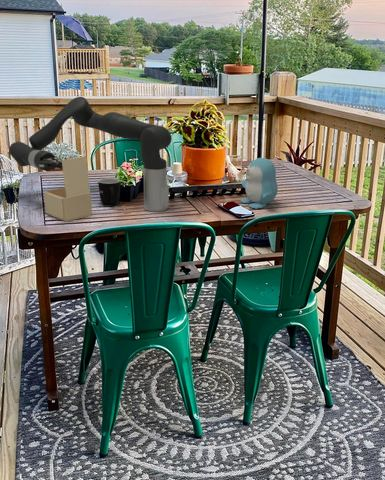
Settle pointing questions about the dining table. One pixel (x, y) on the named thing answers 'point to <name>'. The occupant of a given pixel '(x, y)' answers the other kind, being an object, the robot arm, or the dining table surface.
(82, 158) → the front flap
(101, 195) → the mug
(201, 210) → the dining table surface
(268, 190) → the toy
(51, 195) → the carton
